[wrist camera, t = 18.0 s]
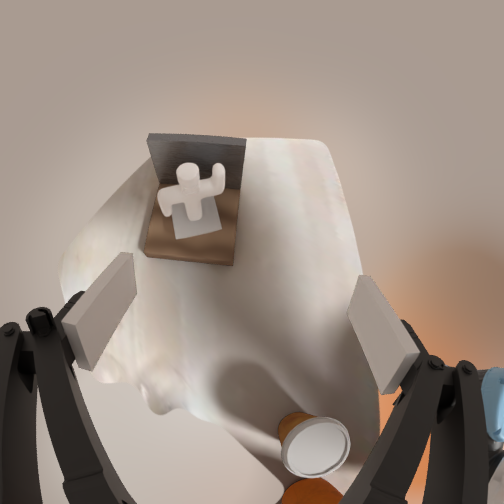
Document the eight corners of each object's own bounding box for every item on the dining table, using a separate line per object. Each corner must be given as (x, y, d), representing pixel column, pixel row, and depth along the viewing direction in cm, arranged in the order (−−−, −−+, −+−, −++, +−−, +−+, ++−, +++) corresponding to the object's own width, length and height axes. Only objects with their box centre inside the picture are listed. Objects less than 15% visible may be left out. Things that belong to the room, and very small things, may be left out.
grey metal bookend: (240, 189, 49) (245, 146, 38) (159, 183, 48) (146, 140, 37) (240, 183, 50) (246, 138, 39) (161, 176, 49) (149, 133, 37)
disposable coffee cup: (267, 455, 36) (282, 485, 25) (268, 404, 39) (284, 422, 28) (322, 449, 37) (350, 473, 26) (324, 400, 40) (355, 413, 29)
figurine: (166, 211, 46) (148, 157, 32) (218, 200, 48) (219, 142, 34) (172, 249, 44) (152, 203, 30) (228, 236, 46) (231, 186, 32)
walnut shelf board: (232, 265, 47) (233, 261, 45) (147, 257, 46) (143, 252, 43) (240, 190, 52) (240, 183, 50) (163, 184, 51) (161, 176, 49)
